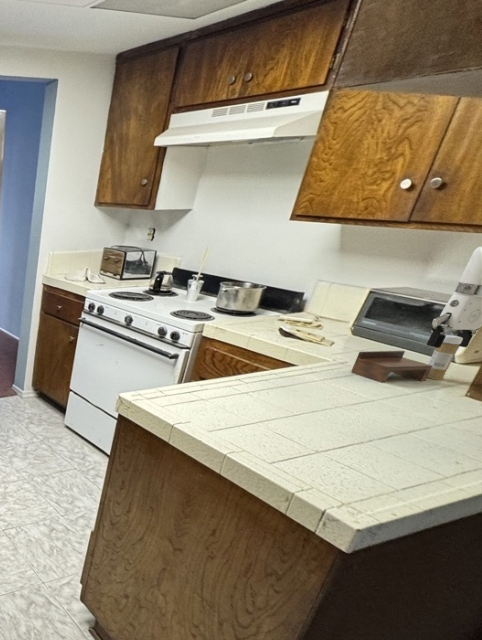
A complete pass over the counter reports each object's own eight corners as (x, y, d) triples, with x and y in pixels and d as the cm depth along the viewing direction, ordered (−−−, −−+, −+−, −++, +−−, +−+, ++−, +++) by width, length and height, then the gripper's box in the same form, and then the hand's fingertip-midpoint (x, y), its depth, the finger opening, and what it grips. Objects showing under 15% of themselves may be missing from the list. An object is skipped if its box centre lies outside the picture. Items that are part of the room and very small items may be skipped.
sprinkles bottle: (445, 378, 146) (466, 337, 141) (439, 380, 144) (460, 338, 139) (425, 374, 150) (444, 333, 145) (419, 376, 148) (438, 335, 143)
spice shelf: (425, 380, 144) (435, 359, 141) (380, 382, 142) (390, 360, 139) (393, 371, 152) (402, 350, 150) (350, 372, 150) (359, 351, 147)
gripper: (466, 292, 132) (437, 350, 139) (515, 292, 134) (485, 349, 141) (434, 287, 139) (408, 343, 146) (482, 288, 141) (454, 342, 148)
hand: (446, 346), depth 143 cm, fingers open, 9 cm apart
